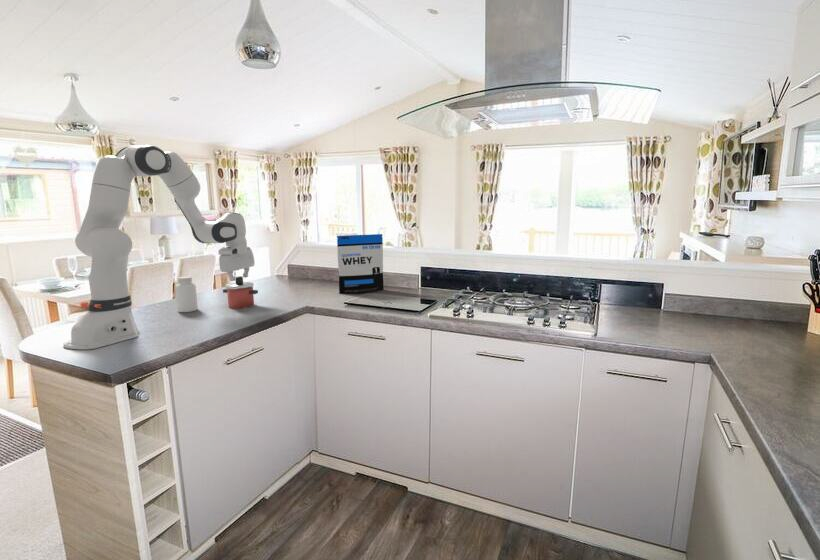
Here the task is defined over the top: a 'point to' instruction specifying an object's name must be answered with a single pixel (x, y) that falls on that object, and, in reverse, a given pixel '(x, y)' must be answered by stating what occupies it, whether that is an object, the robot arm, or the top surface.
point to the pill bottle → (186, 295)
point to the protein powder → (360, 263)
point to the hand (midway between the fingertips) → (239, 279)
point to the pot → (240, 297)
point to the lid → (239, 284)
